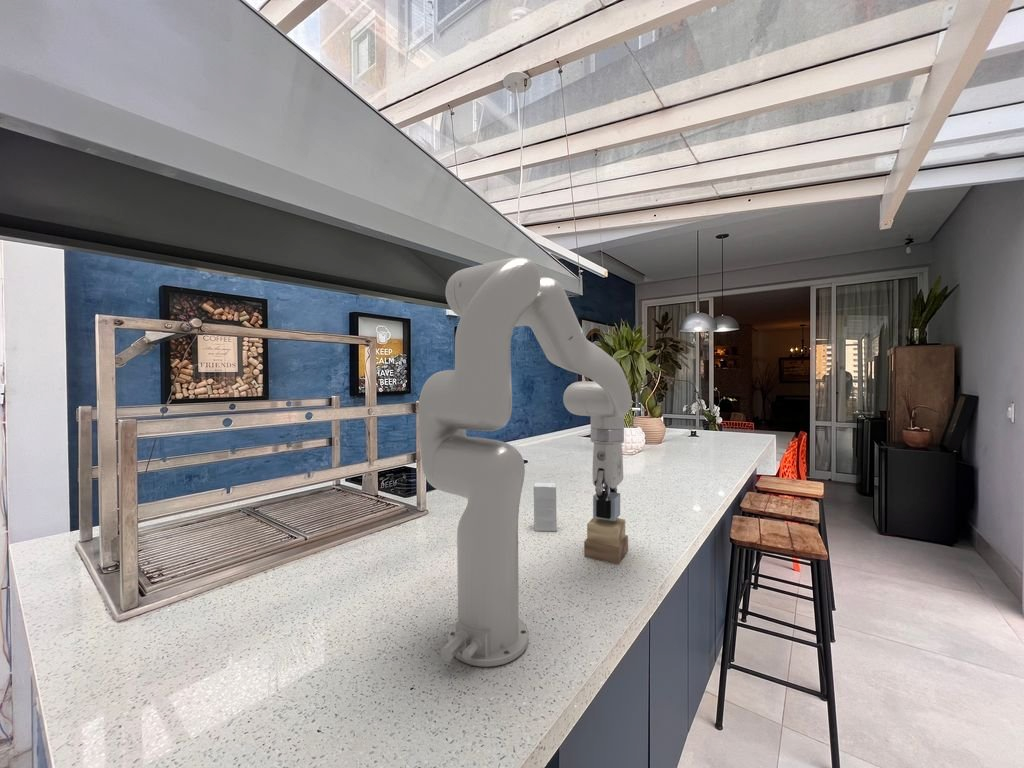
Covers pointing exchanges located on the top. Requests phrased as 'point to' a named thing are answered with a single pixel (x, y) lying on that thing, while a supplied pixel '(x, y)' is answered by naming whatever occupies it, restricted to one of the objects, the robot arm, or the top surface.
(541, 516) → the skincare box
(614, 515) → the cube
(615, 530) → the tower top
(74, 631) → the top surface
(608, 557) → the tower base
